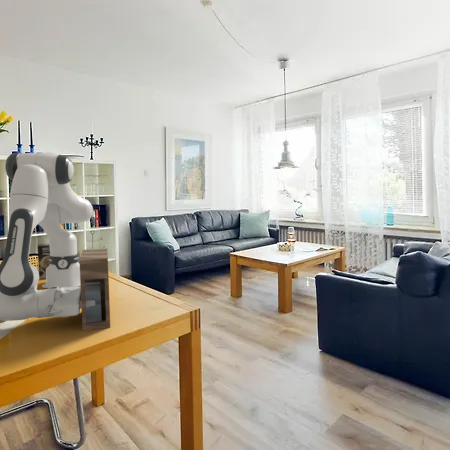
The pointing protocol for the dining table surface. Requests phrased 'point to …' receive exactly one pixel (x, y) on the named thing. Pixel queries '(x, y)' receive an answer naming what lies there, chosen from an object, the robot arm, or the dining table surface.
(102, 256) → the walnut box
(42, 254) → the coffee box
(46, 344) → the dining table surface
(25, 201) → the robot arm
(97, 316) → the slate block
